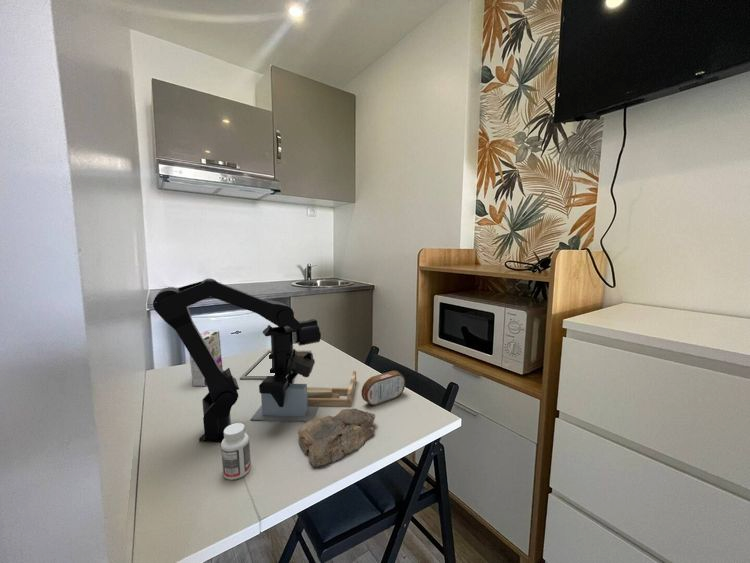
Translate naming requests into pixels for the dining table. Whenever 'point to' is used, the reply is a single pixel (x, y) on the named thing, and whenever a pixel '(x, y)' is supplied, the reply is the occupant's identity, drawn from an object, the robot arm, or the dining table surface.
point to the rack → (336, 401)
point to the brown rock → (335, 435)
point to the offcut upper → (319, 392)
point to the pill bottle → (235, 452)
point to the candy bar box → (214, 346)
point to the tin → (383, 387)
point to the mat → (306, 418)
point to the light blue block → (287, 402)
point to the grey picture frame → (244, 376)
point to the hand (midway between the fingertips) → (284, 401)
